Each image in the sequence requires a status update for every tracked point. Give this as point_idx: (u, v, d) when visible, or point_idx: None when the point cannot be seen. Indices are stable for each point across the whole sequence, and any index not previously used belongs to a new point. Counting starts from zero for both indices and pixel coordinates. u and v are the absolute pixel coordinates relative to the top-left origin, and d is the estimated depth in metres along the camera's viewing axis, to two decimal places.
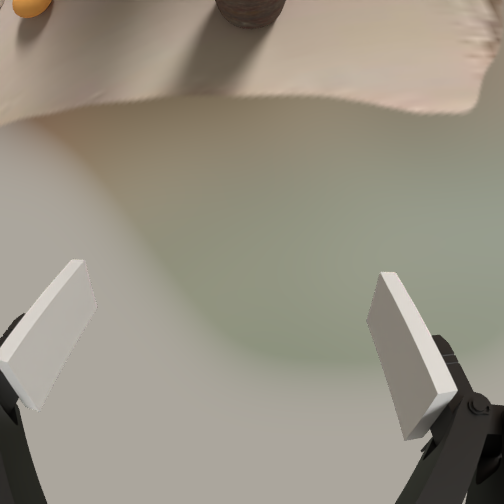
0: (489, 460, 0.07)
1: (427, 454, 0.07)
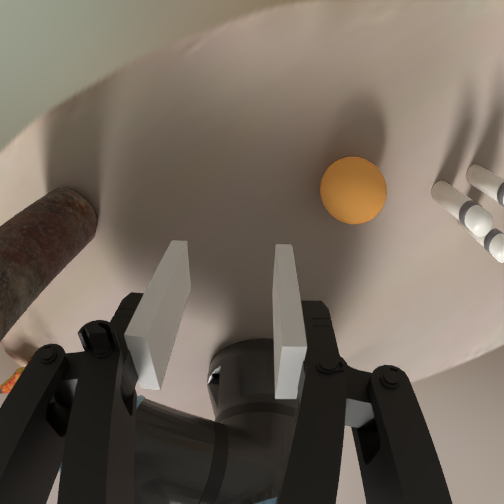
0: (373, 434, 0.08)
1: None
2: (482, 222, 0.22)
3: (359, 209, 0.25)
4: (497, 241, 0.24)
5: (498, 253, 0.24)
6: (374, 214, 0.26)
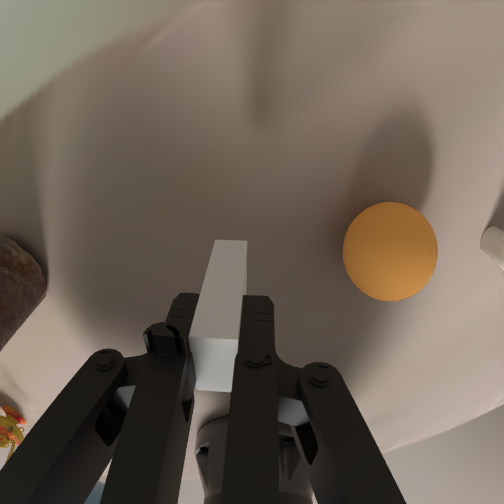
0: (314, 433, 0.09)
1: None
2: None
3: (402, 287, 0.16)
4: None
5: None
6: (419, 289, 0.17)
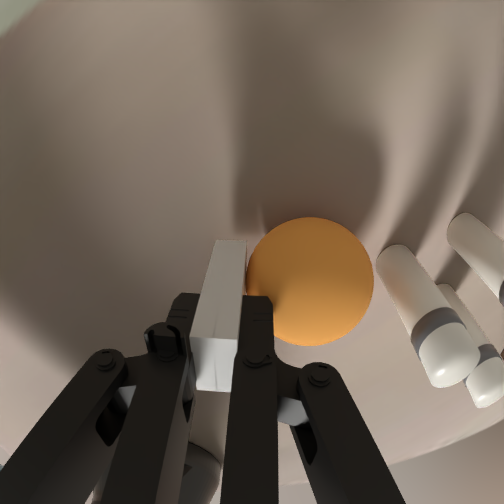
0: (313, 433, 0.09)
1: None
2: (454, 366, 0.10)
3: None
4: (482, 377, 0.12)
5: (479, 398, 0.12)
6: None
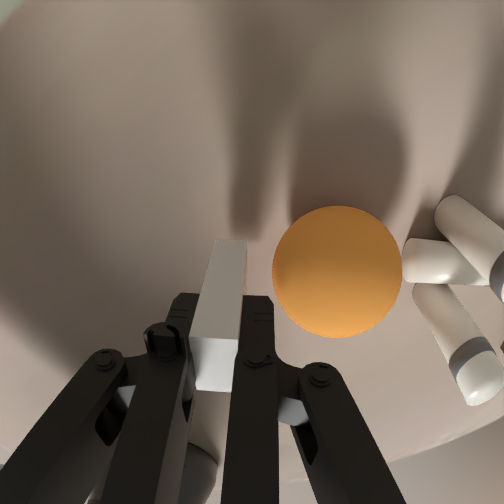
0: (314, 433, 0.09)
1: None
2: None
3: None
4: (473, 373, 0.11)
5: (470, 396, 0.11)
6: None
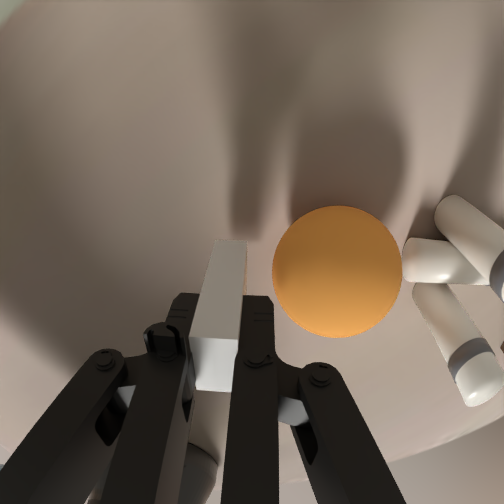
0: (314, 433, 0.09)
1: None
2: None
3: None
4: (471, 374, 0.11)
5: (469, 397, 0.11)
6: None
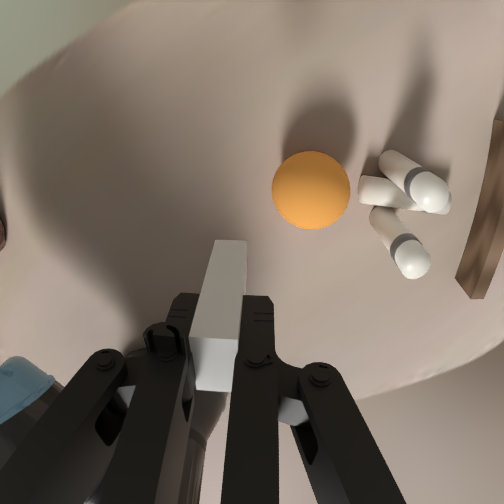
0: (314, 433, 0.09)
1: None
2: None
3: None
4: (402, 251, 0.21)
5: (403, 267, 0.21)
6: None
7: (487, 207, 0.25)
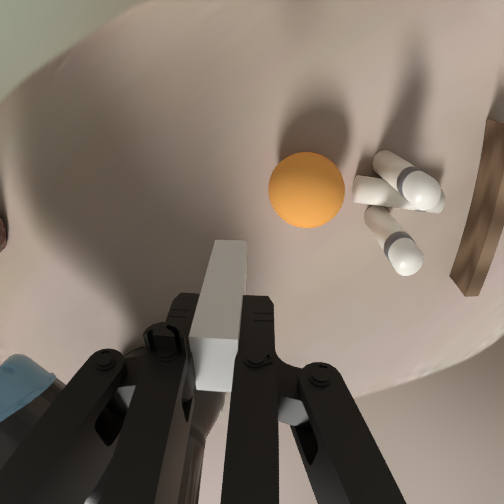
0: (314, 433, 0.09)
1: None
2: None
3: None
4: (395, 248, 0.22)
5: (396, 264, 0.22)
6: None
7: (480, 206, 0.26)
